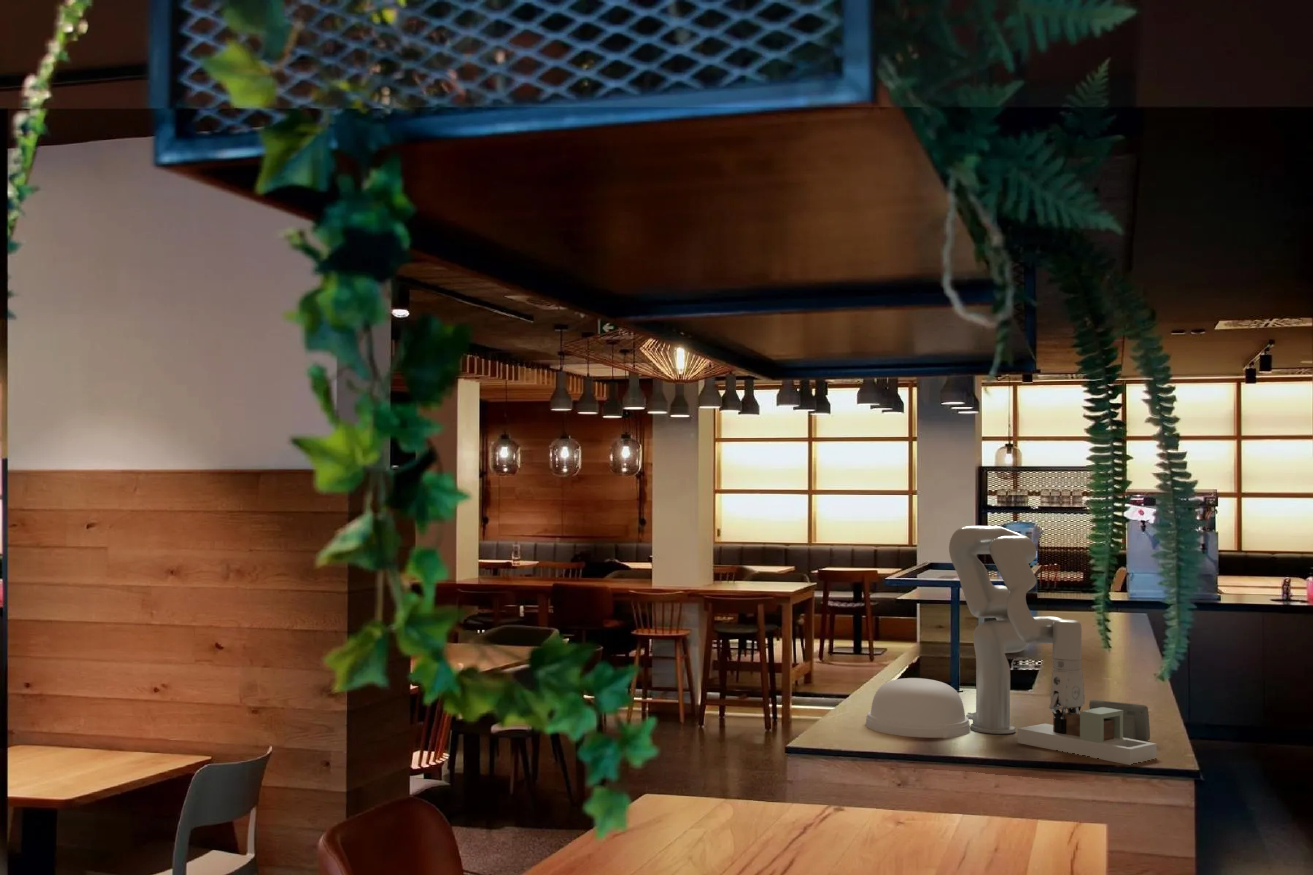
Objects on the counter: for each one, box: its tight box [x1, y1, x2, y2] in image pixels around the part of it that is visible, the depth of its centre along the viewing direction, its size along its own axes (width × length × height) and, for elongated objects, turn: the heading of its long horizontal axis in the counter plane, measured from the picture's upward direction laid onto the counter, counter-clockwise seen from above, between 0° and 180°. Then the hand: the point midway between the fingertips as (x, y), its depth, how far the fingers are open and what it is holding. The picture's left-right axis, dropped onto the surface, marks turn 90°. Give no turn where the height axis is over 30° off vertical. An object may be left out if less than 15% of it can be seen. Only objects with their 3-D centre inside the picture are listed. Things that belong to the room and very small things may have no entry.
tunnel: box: [1079, 707, 1123, 743], centre depth 331 cm, size 6×11×7 cm, turn 129°
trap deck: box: [1017, 723, 1158, 766], centre depth 334 cm, size 34×13×4 cm, turn 39°
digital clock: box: [1088, 699, 1151, 742], centre depth 351 cm, size 16×9×11 cm, turn 46°
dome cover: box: [865, 677, 971, 739], centre depth 363 cm, size 32×30×14 cm
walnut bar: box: [1052, 711, 1114, 741], centre depth 335 cm, size 15×5×5 cm, turn 39°
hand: (1066, 731), depth 339 cm, fingers closed on walnut bar, 5 cm apart
